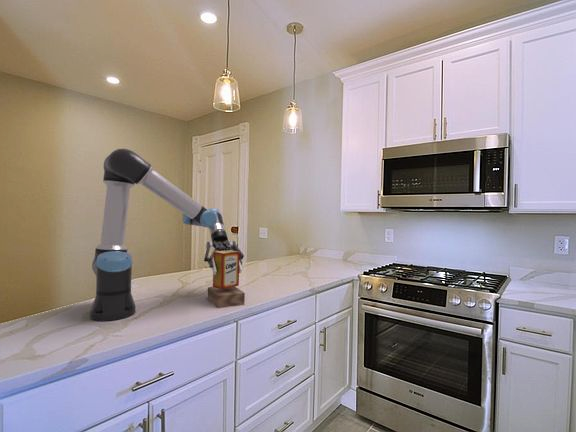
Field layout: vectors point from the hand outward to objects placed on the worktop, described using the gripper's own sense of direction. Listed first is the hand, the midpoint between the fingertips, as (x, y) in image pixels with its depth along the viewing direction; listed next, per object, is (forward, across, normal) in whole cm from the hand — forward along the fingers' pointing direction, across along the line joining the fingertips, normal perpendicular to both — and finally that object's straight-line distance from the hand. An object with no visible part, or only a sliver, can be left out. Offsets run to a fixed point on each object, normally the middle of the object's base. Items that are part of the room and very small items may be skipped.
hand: (228, 272), depth 135 cm
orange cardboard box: (+3, 0, -7) cm, 7 cm away
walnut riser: (+8, 0, -12) cm, 14 cm away
